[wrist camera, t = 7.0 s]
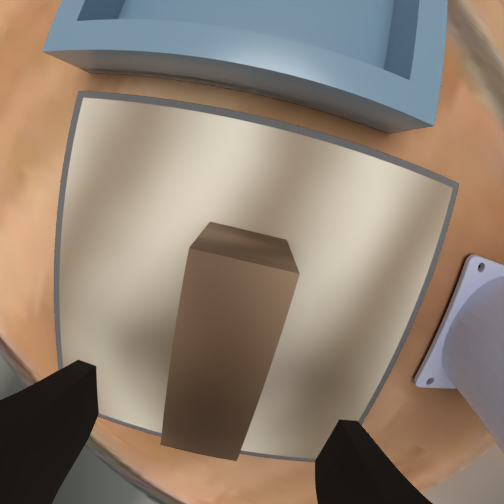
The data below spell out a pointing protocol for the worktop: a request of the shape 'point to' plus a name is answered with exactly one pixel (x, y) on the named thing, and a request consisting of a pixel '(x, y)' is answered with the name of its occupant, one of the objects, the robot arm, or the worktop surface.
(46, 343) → the worktop surface
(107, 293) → the lid
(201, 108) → the mat
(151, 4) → the dish
